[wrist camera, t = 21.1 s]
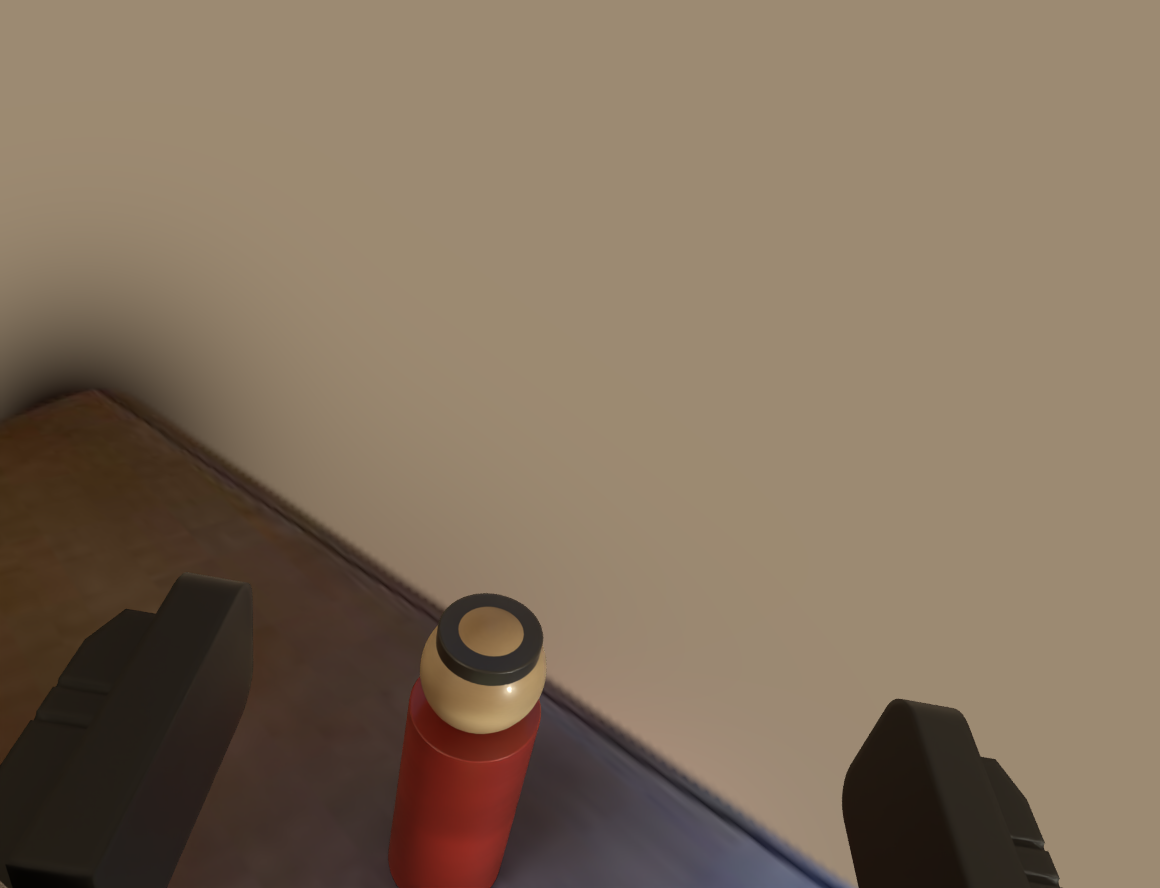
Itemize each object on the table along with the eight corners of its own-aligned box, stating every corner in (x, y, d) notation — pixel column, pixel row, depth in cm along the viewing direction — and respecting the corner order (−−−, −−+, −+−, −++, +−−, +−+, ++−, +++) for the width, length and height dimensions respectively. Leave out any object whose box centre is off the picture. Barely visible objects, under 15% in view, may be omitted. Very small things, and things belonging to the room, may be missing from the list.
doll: (364, 868, 37) (390, 633, 29) (432, 783, 40) (472, 555, 32) (460, 934, 35) (516, 707, 27) (521, 840, 39) (586, 616, 31)
